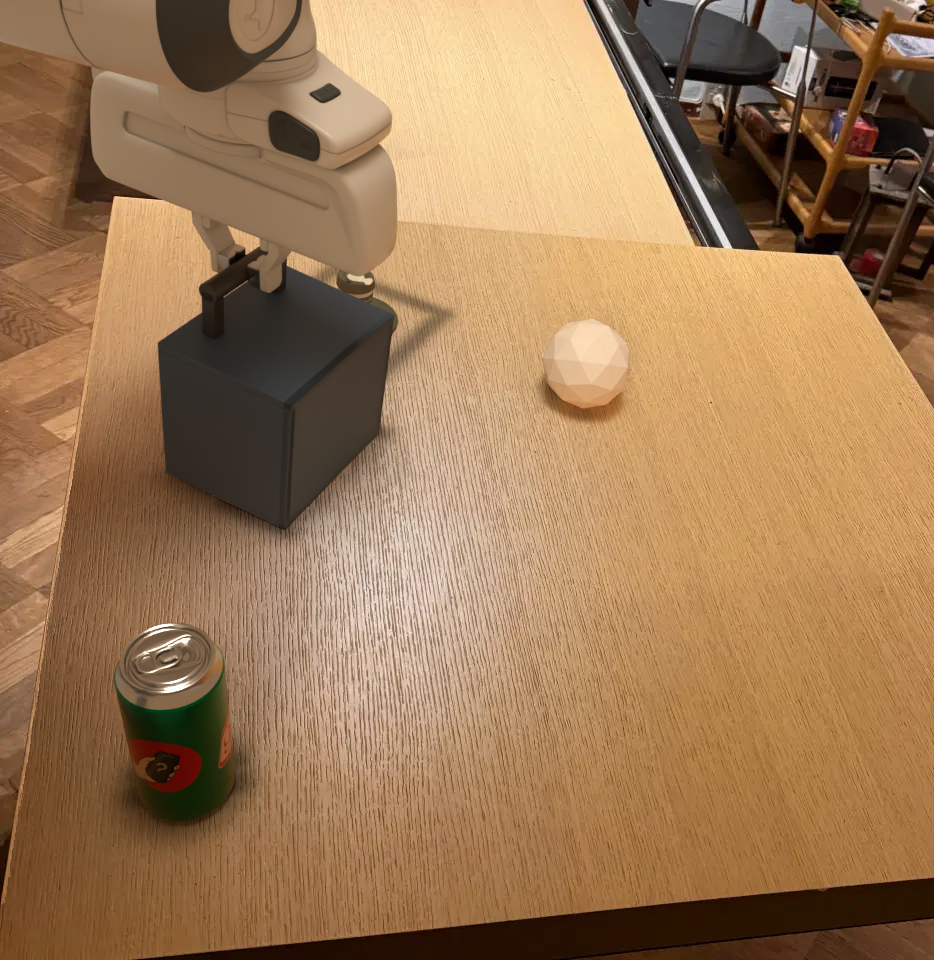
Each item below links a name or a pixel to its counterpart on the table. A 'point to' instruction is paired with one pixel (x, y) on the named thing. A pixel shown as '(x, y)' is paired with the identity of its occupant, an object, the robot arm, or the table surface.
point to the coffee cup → (363, 290)
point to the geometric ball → (587, 363)
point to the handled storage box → (272, 389)
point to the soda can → (176, 720)
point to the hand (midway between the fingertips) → (247, 279)
